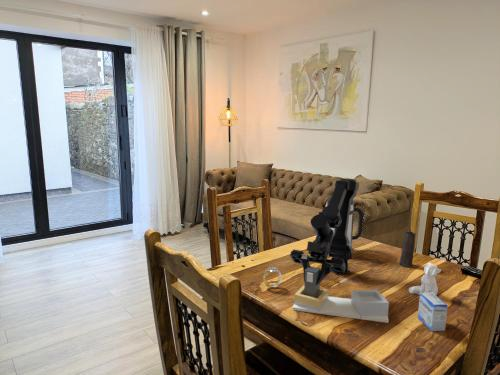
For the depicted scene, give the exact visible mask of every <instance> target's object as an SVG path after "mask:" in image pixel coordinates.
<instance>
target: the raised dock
mask: <svg viewBox="0 0 500 375" xmlns="http://www.w3.org/2000/svg"><path fill="white" fill-rule="evenodd" d="M350 293H351V295H350V299H351V303H352V305H353V306H354V308H355V309H356V311H357V312H358V314H359V315H360V319H359V320H362V319H361V318H362V316H388V317H389V305H390V303H389V301H388V300H387V299H386V298H385V296H384V295H383V294H382V293H381V292H380V290H378V289H358V290H356V289H353V290H351V292H350Z"/></svg>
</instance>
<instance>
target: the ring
mask: <svg viewBox="0 0 500 375" xmlns="http://www.w3.org/2000/svg"><path fill="white" fill-rule="evenodd" d="M273 272H275V273H277V274H278V275H279V276H278V277H279V280H278V282H277V283H275V284H273V283H272V284H269V283H268V282H267V281H266V277H267V276H268V275H270V274H271V273H273ZM262 279H263V283H264V285H265V286H267V287H269V288H271V287H274V288H277V287H278V286H279V285H280V284H281V282H282V280H283V277H282V274H281V271H280V270H278V267H275V266H271V267H269V268H268V269H266V270H265V271H264V273H263V278H262Z"/></svg>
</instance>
